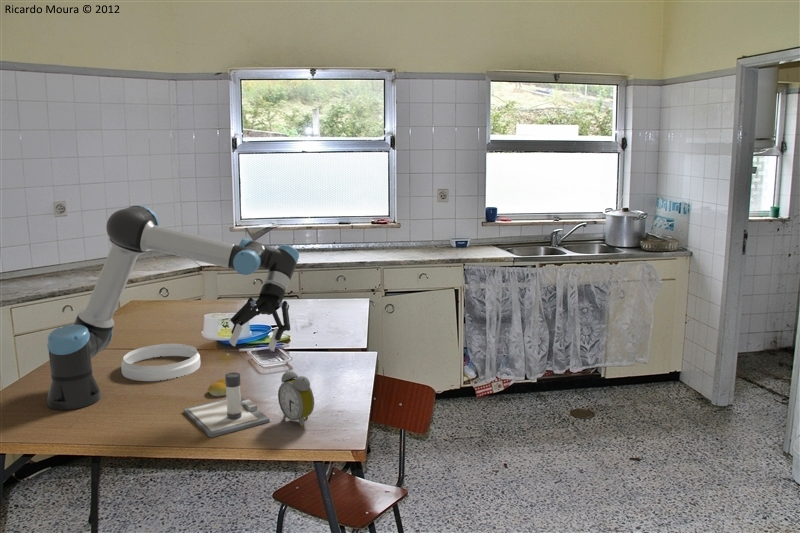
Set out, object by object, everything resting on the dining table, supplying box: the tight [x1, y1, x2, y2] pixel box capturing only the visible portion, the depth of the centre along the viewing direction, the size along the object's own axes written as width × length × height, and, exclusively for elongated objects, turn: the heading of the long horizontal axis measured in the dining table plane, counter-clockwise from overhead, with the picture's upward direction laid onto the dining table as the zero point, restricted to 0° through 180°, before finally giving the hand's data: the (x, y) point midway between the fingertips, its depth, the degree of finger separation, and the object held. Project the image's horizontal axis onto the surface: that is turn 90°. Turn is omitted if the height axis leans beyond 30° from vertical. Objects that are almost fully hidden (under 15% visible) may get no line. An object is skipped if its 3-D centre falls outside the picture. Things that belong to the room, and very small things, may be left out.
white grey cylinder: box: [224, 372, 242, 420], centre depth 193 cm, size 4×4×13 cm
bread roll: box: [207, 378, 227, 397], centre depth 216 cm, size 8×9×4 cm
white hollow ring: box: [120, 343, 201, 382], centre depth 239 cm, size 27×27×6 cm
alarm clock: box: [277, 370, 315, 429], centre depth 192 cm, size 12×7×15 cm, turn 44°
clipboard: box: [183, 396, 271, 438], centre depth 197 cm, size 22×18×2 cm
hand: (251, 346), depth 201 cm, fingers open, 13 cm apart
